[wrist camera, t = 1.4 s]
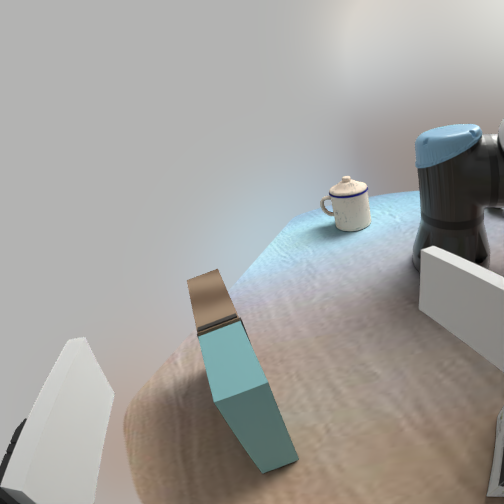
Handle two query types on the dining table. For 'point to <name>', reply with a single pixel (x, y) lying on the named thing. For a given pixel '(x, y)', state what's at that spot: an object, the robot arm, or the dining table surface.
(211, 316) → the brown wooden block
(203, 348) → the teal rectangular block
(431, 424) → the dining table surface
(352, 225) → the teacup with lid
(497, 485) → the tea box
